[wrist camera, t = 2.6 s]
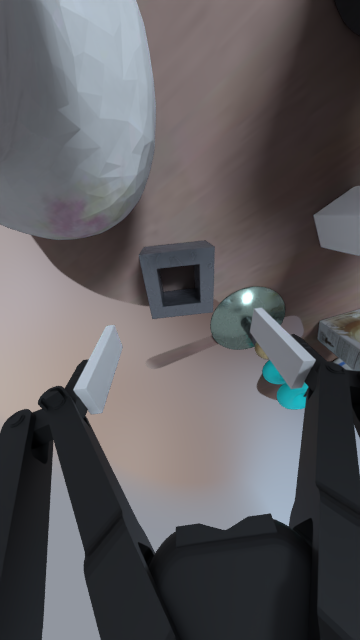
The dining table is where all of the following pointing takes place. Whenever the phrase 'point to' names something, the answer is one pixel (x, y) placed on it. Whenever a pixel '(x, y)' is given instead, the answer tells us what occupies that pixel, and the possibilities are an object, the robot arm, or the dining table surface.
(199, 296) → the steel link
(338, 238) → the milk
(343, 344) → the coffee box
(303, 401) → the donuts
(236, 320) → the round base stand
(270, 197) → the dining table surface
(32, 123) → the ceramic pitcher
